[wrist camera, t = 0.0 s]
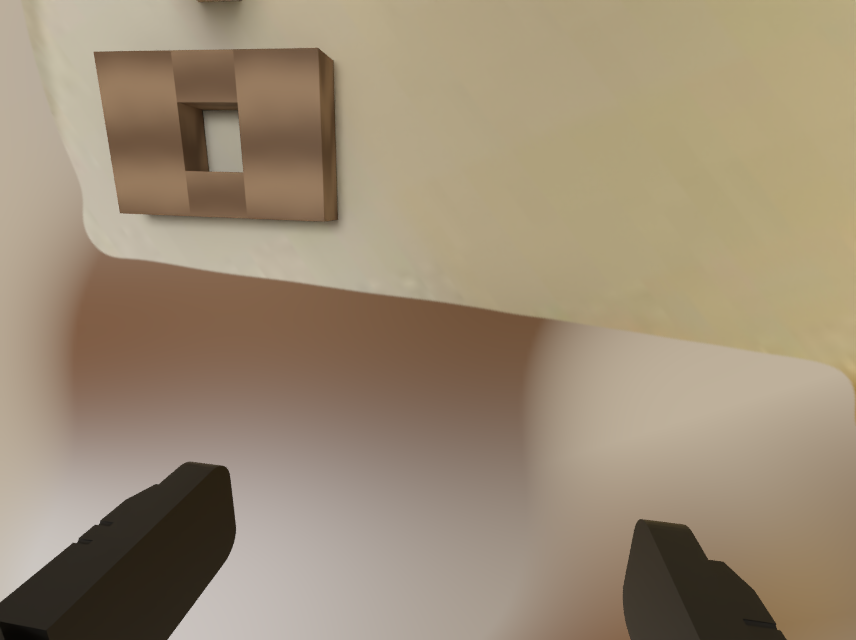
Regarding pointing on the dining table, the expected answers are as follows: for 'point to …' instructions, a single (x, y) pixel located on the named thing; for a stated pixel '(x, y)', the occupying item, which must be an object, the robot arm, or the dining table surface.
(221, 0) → the beech peg
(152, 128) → the walnut board
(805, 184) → the dining table surface
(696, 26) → the dining table surface
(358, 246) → the dining table surface
